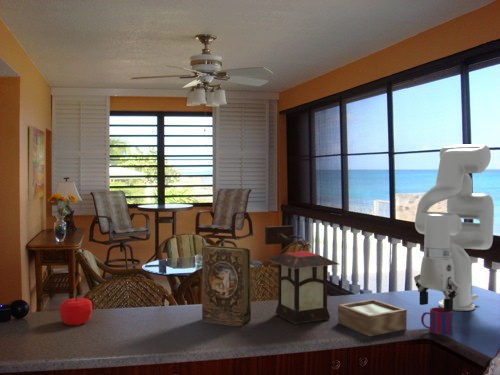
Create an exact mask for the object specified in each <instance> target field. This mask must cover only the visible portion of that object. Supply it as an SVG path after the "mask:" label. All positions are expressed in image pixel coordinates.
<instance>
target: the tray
mask: <svg viewBox="0 0 500 375" xmlns="http://www.w3.org/2000/svg"><path fill="white" fill-rule="evenodd" d="M407 312H408V311H407V309H405V308H403V307H398V306H396V305H394V304H390V303H387V302H383V301H380V300H378V299H366V300H359V301H354V302H347V303H341V304H338V305H337V324H338V325H342V326H343V327H345V328H348V329H351V330H353V331H355V332H357V333H361V334H363V335H365V336H368V337H373V336H378V335H383V334H388V333H394V332H399V331H403V330H406V329H407V322H408V320H407V317H408V316H407V314H408V313H407Z"/></svg>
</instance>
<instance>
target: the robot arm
mask: <svg viewBox="0 0 500 375" xmlns="http://www.w3.org/2000/svg"><path fill="white" fill-rule="evenodd" d="M491 154H492V153H491V149H490V148H489V146H487V145H486V144H453V145H447V146H446V145H445V146H443V147H441V149H440V150H439V164H438V168H437V169H438V170H437V176H436V179H435V180H436V182H435V185H434V186H432V187H431V188H430V189H428V191H426V192H425V193H424V195H422V196H421V198H420V200H419V202H418V204H417V208H416V212H415V219H414V227H415V231H417V232H418V233H419V234H421V235H424V240H423V242H424V246H423V248H424V249H423V256H422V260H421V264H420V265H421V266H420V274H417V275H415V276H413V280H414V283H415V286H416V288H417V292H419V305H420V306H425V305H428V304H429V291H428V290H433V291H438V292H442V300H439V301H438V307H440V308H444V311H445V312H450V311H453V312H454V311H458V312H459V311H460V312H464V311H465V312H466V311H467V312H468V311H473V310H475V308H476V304H474V303H473V301H475V300H478V299H479V295H478V294H471V293H472V292H471V291H472V290H471V288H472V287H471V284H472V260H471V258H470V256H469V254H468V252H466V250H465V249H469V250H470V249H471V250H490V248H492V245H493V241H494V217H495V216H494V215H495V212H494V211H495V206H494V204H495V203H494V201H493V197H492V196H491V195H490V194H487V193H473V180H472V177H471V176H470V174H482V173H483V172H484V171H485V170H486V169H487V168H488V167H489V164H490V163H491V158H492V156H491ZM442 201H446V211H447V212H442V211H429V210H430V209H431V208H432V206H434V205H435V204H438V203H439V202H442ZM462 219H464V220H465V219H466V220H477V221H479V222H467V221H466V222H465V221H463V220H462Z"/></svg>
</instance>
